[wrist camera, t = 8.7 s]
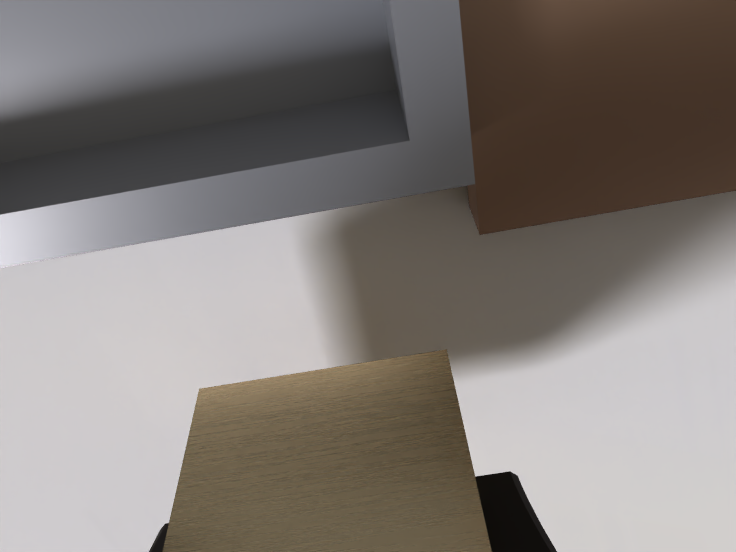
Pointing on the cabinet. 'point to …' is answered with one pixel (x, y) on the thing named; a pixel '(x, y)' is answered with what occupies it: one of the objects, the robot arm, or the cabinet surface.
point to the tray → (219, 115)
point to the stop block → (331, 464)
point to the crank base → (597, 105)
